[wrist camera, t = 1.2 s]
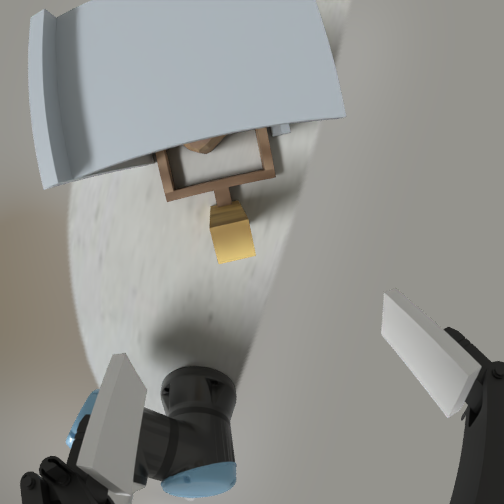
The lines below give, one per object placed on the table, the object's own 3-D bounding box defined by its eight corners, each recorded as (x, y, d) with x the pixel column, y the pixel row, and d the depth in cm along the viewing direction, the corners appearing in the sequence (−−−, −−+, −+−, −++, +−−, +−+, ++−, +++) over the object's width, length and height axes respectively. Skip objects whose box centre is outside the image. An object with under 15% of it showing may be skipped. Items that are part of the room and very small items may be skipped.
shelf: (279, 135, 37) (384, 113, 13) (146, 165, 36) (43, 189, 12) (262, 59, 33) (332, -47, 8) (131, 88, 32) (30, 17, 7)
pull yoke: (280, 218, 41) (305, 243, 30) (180, 241, 40) (169, 275, 29) (246, 49, 32) (259, 13, 21) (142, 72, 31) (117, 44, 20)
